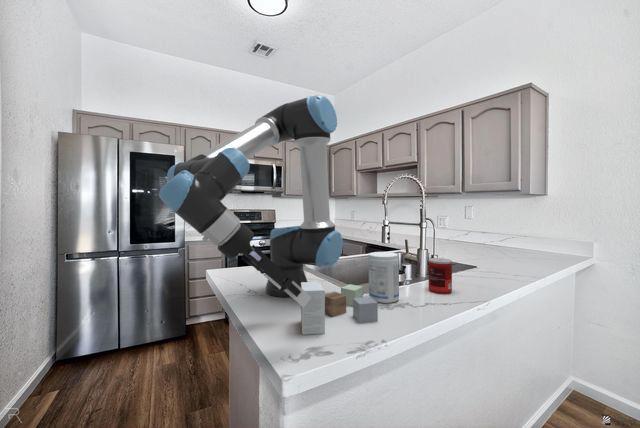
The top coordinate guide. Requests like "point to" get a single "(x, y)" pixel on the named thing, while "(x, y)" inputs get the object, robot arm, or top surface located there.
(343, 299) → the walnut block
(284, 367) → the top surface
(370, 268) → the supplement tub
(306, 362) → the top surface
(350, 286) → the sage green block
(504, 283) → the top surface
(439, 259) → the canned food
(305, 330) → the small box
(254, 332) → the top surface
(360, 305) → the slate grey block
